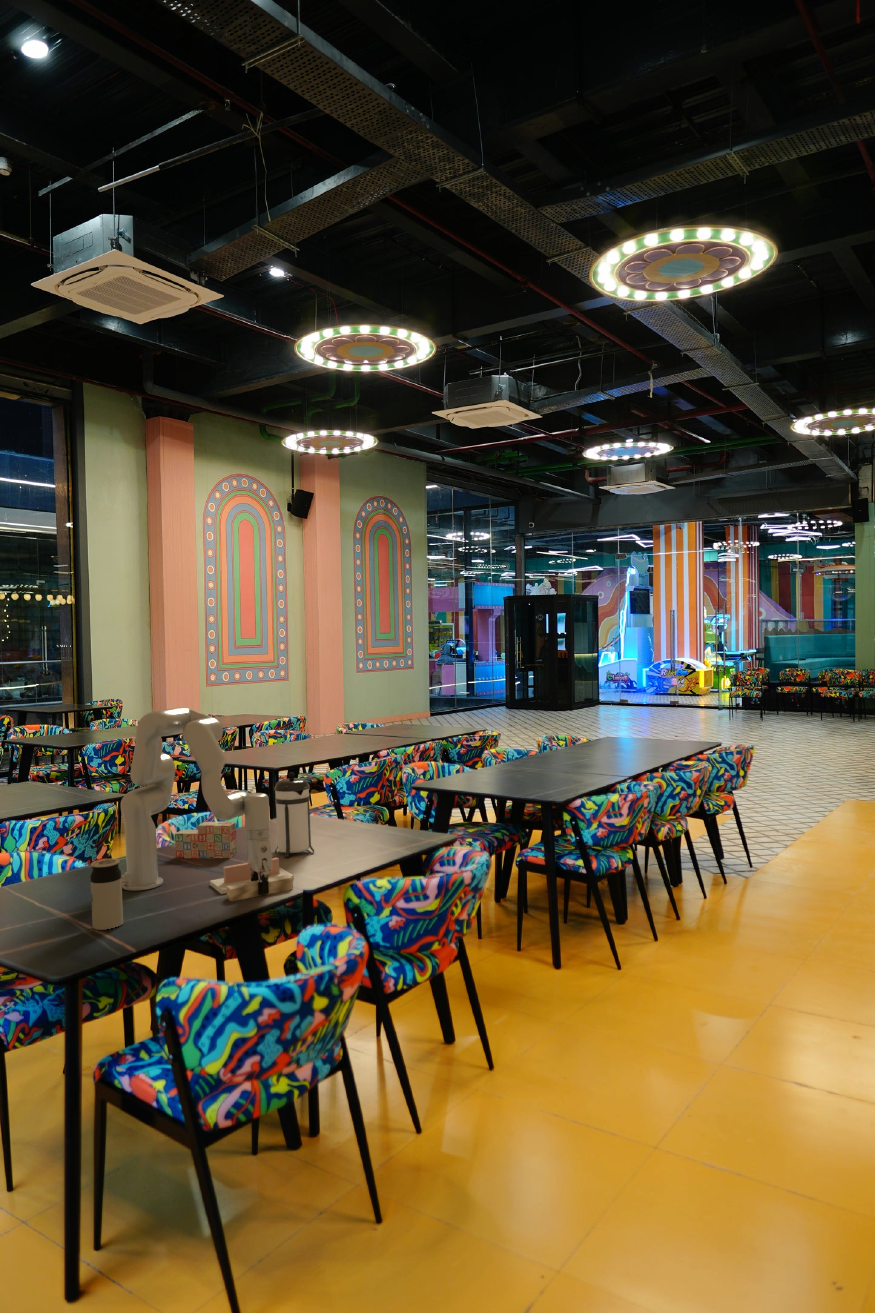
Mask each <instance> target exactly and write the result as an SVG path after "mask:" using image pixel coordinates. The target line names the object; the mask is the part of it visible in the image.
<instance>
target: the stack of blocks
mask: <svg viewBox="0 0 875 1313" xmlns="http://www.w3.org/2000/svg"><path fill="white" fill-rule="evenodd" d="M236 825H237V824H236V821H235V822H234V821H203V822H202V823H200V824H198V825H197V829H181V830H179V831H177V832H176V833H174V842H175V858H176V859H210V858H209V857H217V858H216V859H223V858H230V857H232V856H233V857H234V855H235V854H236V855H237V851H238V850H237V827H236ZM236 855H235V856H236ZM183 857H184V858H183ZM218 857H219V858H218ZM220 857H222V858H220ZM233 857H232V858H233ZM230 859H231V858H230Z"/></svg>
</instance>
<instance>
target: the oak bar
mask: <svg viewBox="0 0 875 1313" xmlns="http://www.w3.org/2000/svg"><path fill="white" fill-rule="evenodd" d="M258 882H259V880H257V881H252V882H246V883H241V884H236V885H231V886H226V889H227V893H226V899H227V901H228V900H229V902H236V901H240V900H245V899H251V898H255V897H260V896H262V895H259V894H258ZM268 882H269V893H268V894H264V895H263V896H265V895H270V894H274V893H275V894H276V893H280V892H285V890H286V891H289V890H290V889H291V890H293V889H294V880H293V877H291V876H289V875H283V876H278V877H272V878H269V881H268ZM292 888H293V889H292Z"/></svg>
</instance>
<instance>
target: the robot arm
mask: <svg viewBox="0 0 875 1313" xmlns="http://www.w3.org/2000/svg"><path fill="white" fill-rule="evenodd" d="M135 732H136V734H135V735H136V736H135V745H134V749H133V750H134V751H133V756H132V761H131V762H132V763H131V767H130V780H131V782H132V784H134V785H136V786H138V787H139V788H135V789H132V790H130V791H128V792H127V793H125V794H124V796H123V797H122V798H121V801H120V812H121V815H122V819H123V826H124V838H125V858H126V860H125V861H126V863H125V864H126V871H125V872H124V874H121V883H122V890H125V891H133V892H134V891H145V890H151V889H154V888H157V887H159V886H161V885H163V883H164V878H162V877H160V876H159V869H158V868H159V867H158V865H159V864H158V848H157V846H158V845H157V843H158V842H157V829H156V825H155V823H154V821H153V820H154V819H152V816H153V815H155V814H159V813H161V812H163V811H164V810H166V809H167V808H168V806H170V802H171V800H172V793H173V787H174V782H175V776H176V765H175V762H174V759H173V758H172V757H171V756H170V755H168V754H167V753H163V747H164V744H163V738H162V737H169V736H173V735H174V736H175V735H179V734H182V737H183V740H184V742H185V743H186V746H187V747H188V749H189V751H190V753H191V755H192V757H193V758H194V761H195V762H196V764H197V766H198V768H199V770H200V773H201V778H200V779H201V781H200V782H201V792H202V795H203V796H202V797H203V798H204V801H205V803H206V804H207V806H208V808H209V810H210V812H211V814H212V815H213V816H214V818H216V819H217V820H219V821H221V822H229V821H230V820H232V819H236V818H238V817H241V816H244V833H245V841H247V846H246V848H247V852H246V853H247V856H246V857H247V863H248V866H249V867H250V870H251V882H252V881H257V880H259V882H258V894H259V895H261V896H265V895H264V894H266V895H269V894H268V893H269V882H268V881H269V878H268V877H269V874H270V872H269V871H271V870H272V857H273V856H272V847H271V842H270V839H271V823H270V801H269V800H270V798H269V796H268V794H266V793H262V792H255V793H253V792H252V793H251V792H247V791H242V790H240V791H235V792H231V793H229V794H228V793H226V791H225V789H224V786H223V783H222V780H221V774H222V771H223V768H224V767H225V765H226V763H227V757H226V755H225V754H224V752H223V750H222V749H221V746H220V744H219V741H220V740H221V738H222V737H223V734H224V730H223V726H222V723H220V721H219V720H218V719H216V718H214V717H212V716H210V715H208V714H205V713H203V712H199V711H197V710H193V709H191V708H189V707H176V708H175V707H174V708H167V709H159V710H154V711H152V712H149V713H146V714H144V715H143V716H142V717H141V718H140V720H139V721H138V723H137V726H136V731H135ZM262 869H263V870H264V871H261V872H260V870H262ZM262 873H264V874H263V875H262V877H261V874H262Z"/></svg>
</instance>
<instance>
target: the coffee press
mask: <svg viewBox="0 0 875 1313" xmlns="http://www.w3.org/2000/svg"><path fill="white" fill-rule="evenodd" d="M295 776H296V775H295V773H294V772H293V771H292V772H289V773H288V778H284V779H281V780H278V781H277V782H276V783H275V786H274V787H273V789H274V791H275V792H274V793H275V797H274V798H275V800H274V801H275V808H276V810H275V811H276V834H277V836H276V837H277V839H276V840H277V847H276V848H275V850H274V853H275V854H279V853H280V852H282V853H285V855H284V856H285V859H291V856H292V854H295V853H302V852H307V853H309V854H310V855H312V854H315V850H314V848H313V846H312V840H311V839H312V836H311V835H312V834H311V815H310V814H311V812H310V800H311V799H310V792H309V790H310V784H309V783H308V781H307V780H306V779H304V778H299V777H295ZM309 849H310V850H311V851H310V850H309ZM277 850H279V851H277Z"/></svg>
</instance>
